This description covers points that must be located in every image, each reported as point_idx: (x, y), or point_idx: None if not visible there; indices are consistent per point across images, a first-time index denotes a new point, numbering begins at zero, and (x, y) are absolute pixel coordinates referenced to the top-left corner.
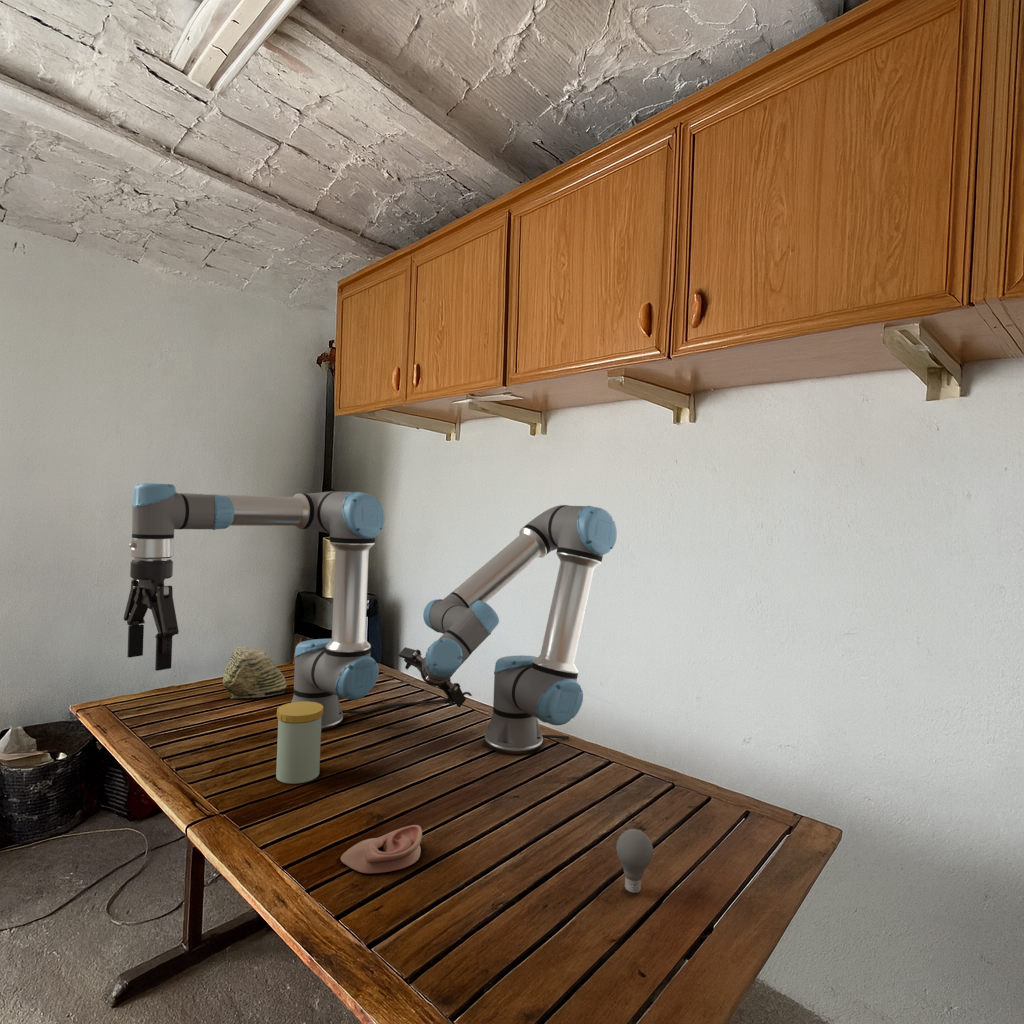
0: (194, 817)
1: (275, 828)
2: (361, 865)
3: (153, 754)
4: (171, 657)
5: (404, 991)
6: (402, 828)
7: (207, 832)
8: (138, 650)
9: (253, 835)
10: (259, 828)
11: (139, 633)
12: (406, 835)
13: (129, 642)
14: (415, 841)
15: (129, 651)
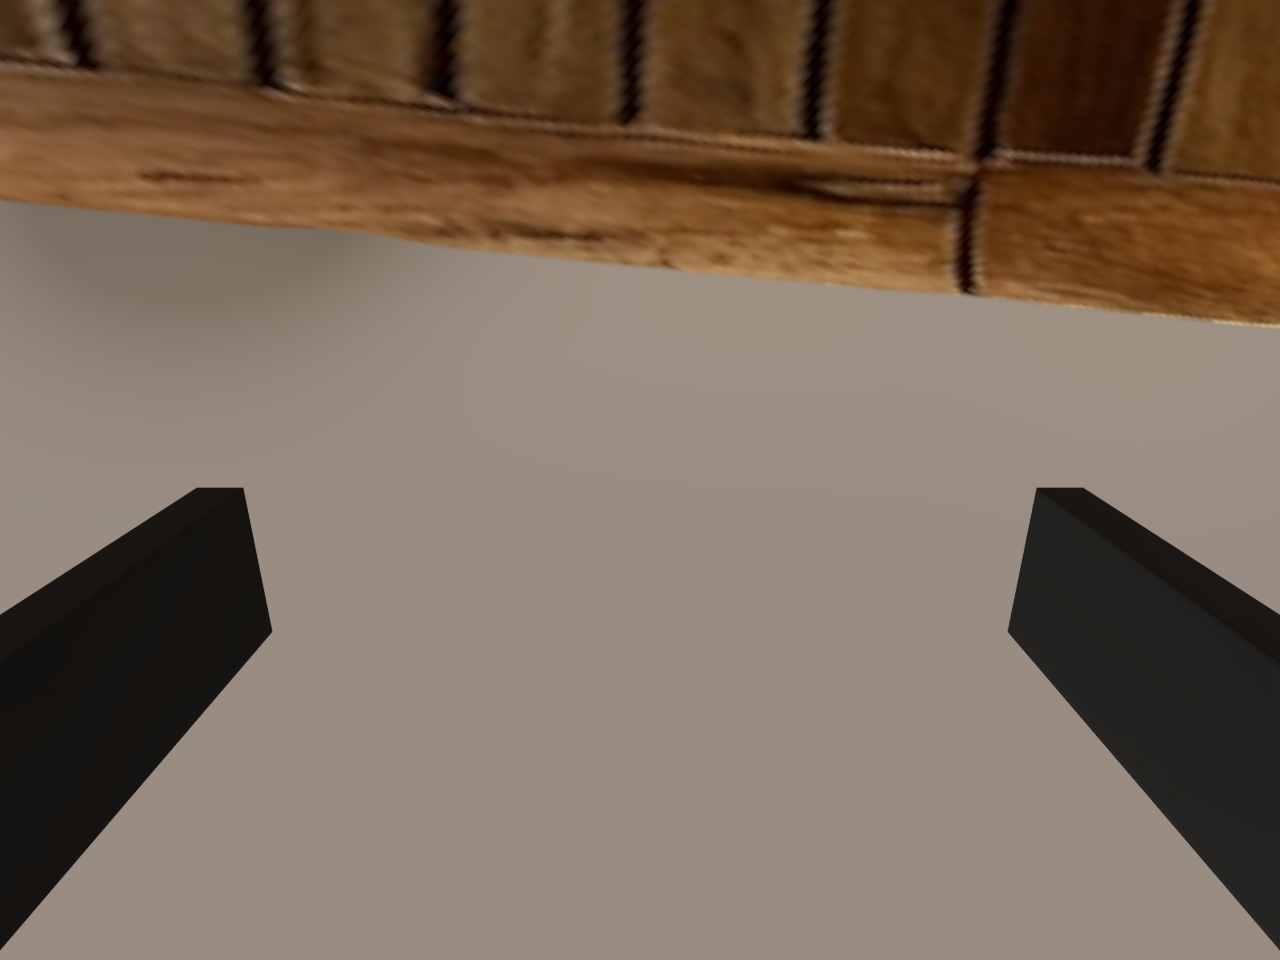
0: (929, 249)
1: (1270, 61)
2: None
3: (188, 96)
4: (1169, 546)
5: None
6: None
7: (1066, 267)
8: (213, 571)
9: (1232, 156)
10: (1212, 110)
11: (28, 724)
12: None
13: (159, 757)
14: None
15: (236, 672)
